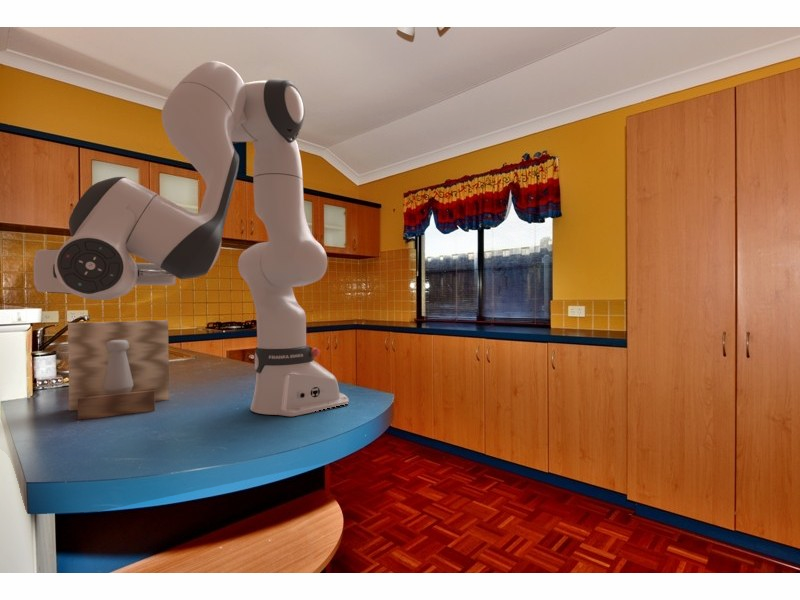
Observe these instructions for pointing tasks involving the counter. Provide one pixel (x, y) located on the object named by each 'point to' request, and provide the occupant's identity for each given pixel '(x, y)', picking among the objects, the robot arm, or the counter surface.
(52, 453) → the counter surface
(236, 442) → the counter surface
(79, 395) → the wall board
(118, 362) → the salt shaker
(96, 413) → the cleat ledge
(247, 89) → the robot arm
